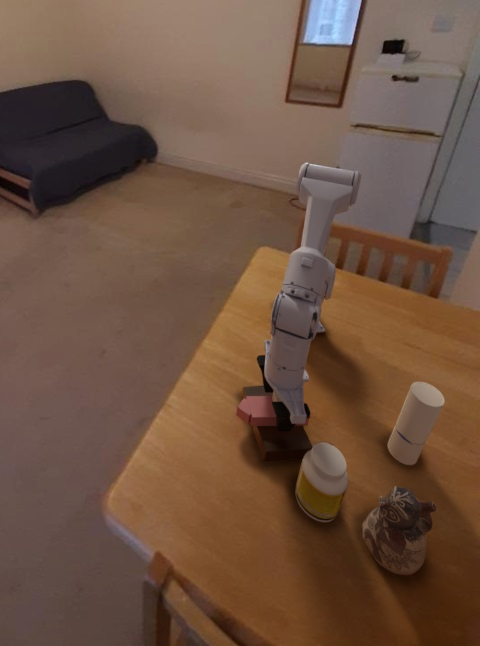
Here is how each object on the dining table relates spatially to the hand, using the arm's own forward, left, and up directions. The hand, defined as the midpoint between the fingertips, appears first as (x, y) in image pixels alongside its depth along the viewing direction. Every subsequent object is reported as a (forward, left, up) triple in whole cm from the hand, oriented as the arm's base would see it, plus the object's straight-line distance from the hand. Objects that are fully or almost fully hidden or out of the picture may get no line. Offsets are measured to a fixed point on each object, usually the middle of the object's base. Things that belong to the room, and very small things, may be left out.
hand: (276, 409), depth 72 cm
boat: (0, -1, -2) cm, 2 cm away
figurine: (+18, +10, -5) cm, 21 cm away
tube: (+6, +20, -5) cm, 21 cm away
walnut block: (0, 0, -5) cm, 5 cm away
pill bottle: (+12, +2, -5) cm, 13 cm away
